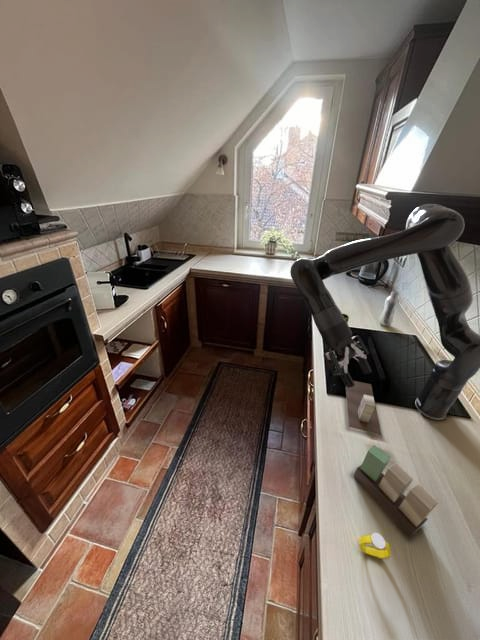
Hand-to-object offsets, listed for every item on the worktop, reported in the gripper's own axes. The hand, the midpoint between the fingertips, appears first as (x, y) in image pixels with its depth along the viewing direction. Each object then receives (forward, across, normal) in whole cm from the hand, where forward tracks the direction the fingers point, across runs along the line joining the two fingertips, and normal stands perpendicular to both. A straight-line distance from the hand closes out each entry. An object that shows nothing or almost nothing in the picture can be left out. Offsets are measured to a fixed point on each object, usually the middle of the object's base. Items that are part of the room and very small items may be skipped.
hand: (360, 379), depth 67 cm
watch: (+33, -18, +4) cm, 38 cm away
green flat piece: (+24, -4, +8) cm, 25 cm away
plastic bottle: (0, +86, +38) cm, 94 cm away
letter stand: (+31, -5, +6) cm, 32 cm away
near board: (+16, +19, +21) cm, 33 cm away
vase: (-5, +50, +42) cm, 66 cm away
